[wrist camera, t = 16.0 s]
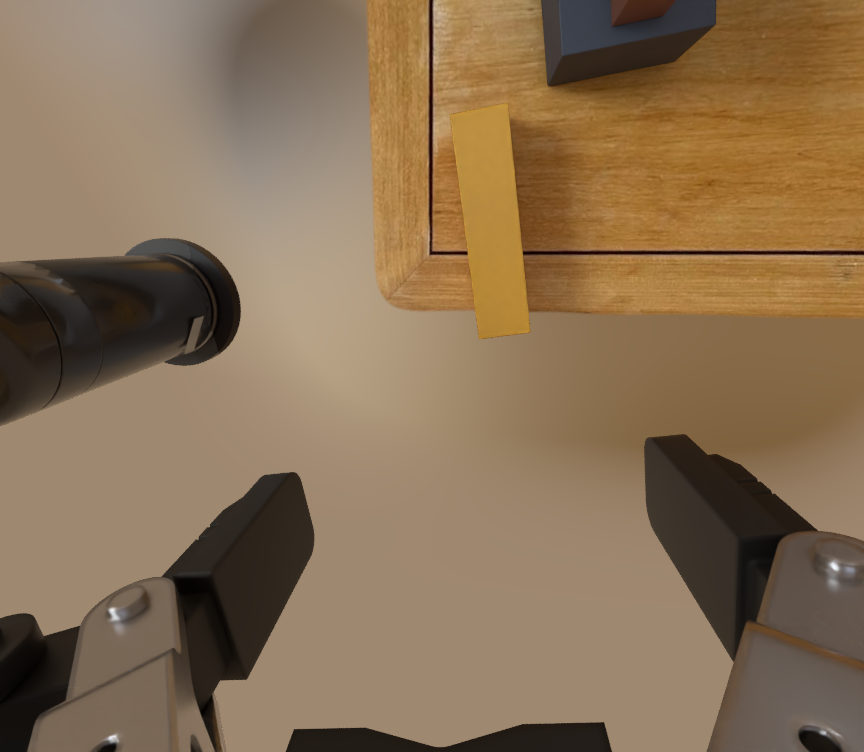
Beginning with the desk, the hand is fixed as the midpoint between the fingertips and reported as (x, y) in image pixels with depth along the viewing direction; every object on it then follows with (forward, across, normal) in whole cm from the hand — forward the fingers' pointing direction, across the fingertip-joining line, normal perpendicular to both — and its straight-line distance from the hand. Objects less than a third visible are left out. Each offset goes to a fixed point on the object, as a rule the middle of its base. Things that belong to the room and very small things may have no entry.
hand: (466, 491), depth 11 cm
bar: (+30, -2, -6) cm, 31 cm away
